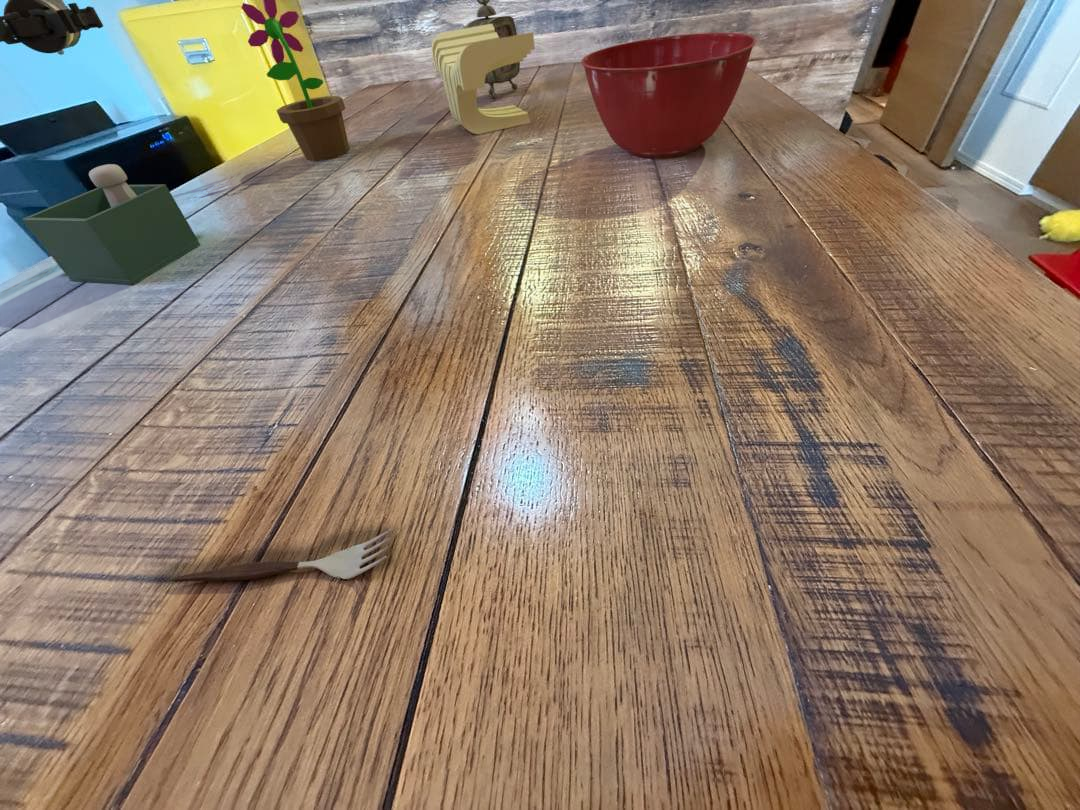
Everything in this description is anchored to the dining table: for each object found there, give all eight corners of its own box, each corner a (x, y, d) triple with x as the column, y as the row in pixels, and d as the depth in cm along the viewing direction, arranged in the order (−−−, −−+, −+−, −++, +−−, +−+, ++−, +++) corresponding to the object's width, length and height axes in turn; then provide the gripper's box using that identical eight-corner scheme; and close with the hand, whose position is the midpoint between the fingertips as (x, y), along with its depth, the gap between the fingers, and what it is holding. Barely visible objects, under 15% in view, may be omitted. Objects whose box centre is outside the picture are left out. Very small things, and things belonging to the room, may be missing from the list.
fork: (184, 566, 37) (168, 551, 36) (400, 542, 36) (392, 525, 35) (167, 600, 35) (148, 586, 34) (395, 575, 34) (385, 559, 33)
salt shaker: (158, 259, 80) (102, 172, 71) (128, 260, 81) (69, 175, 72) (183, 242, 84) (132, 159, 75) (154, 243, 85) (101, 161, 76)
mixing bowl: (574, 176, 89) (567, 72, 78) (596, 129, 109) (593, 41, 99) (746, 169, 82) (764, 54, 72) (736, 120, 102) (749, 25, 92)
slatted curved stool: (445, 119, 132) (427, 35, 120) (503, 106, 135) (492, 23, 123) (474, 145, 110) (455, 46, 98) (542, 130, 113) (533, 32, 101)
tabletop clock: (496, 101, 140) (478, -15, 124) (470, 101, 144) (449, -12, 128) (523, 88, 149) (510, -22, 132) (498, 89, 153) (482, -19, 136)
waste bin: (71, 281, 79) (21, 219, 73) (142, 242, 88) (104, 184, 82) (132, 285, 75) (86, 220, 69) (200, 244, 85) (165, 184, 78)
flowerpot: (339, 141, 127) (286, -14, 107) (369, 148, 119) (317, -19, 99) (286, 158, 120) (218, -3, 100) (314, 167, 112) (246, -7, 92)
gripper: (135, 38, 92) (126, 45, 78) (-30, 65, 85) (-74, 79, 70) (107, -15, 87) (92, -18, 73) (-71, 9, 80) (-128, 11, 65)
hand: (10, 30), depth 71 cm, fingers open, 13 cm apart
